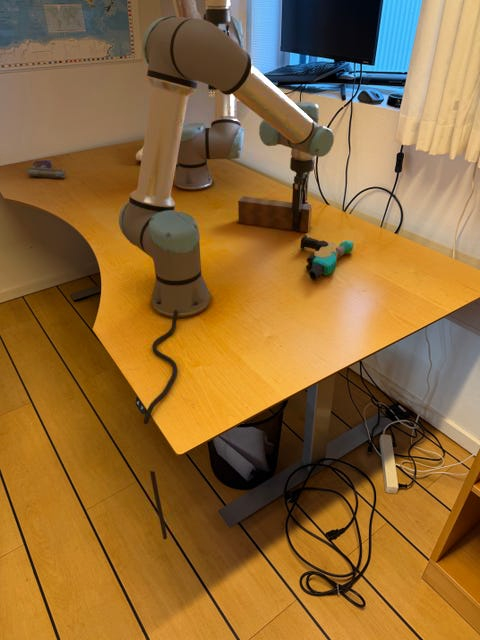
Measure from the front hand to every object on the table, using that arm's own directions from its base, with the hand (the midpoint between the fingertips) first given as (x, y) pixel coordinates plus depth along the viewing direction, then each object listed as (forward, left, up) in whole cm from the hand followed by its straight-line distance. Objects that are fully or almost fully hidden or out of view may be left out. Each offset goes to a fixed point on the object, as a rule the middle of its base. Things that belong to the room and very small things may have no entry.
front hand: (298, 226), depth 161 cm
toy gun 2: (-24, -5, -1) cm, 24 cm away
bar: (+2, +8, -1) cm, 8 cm away
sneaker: (+76, +67, -1) cm, 101 cm away
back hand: (+20, +27, +40) cm, 52 cm away
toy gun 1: (+50, +107, -1) cm, 118 cm away
